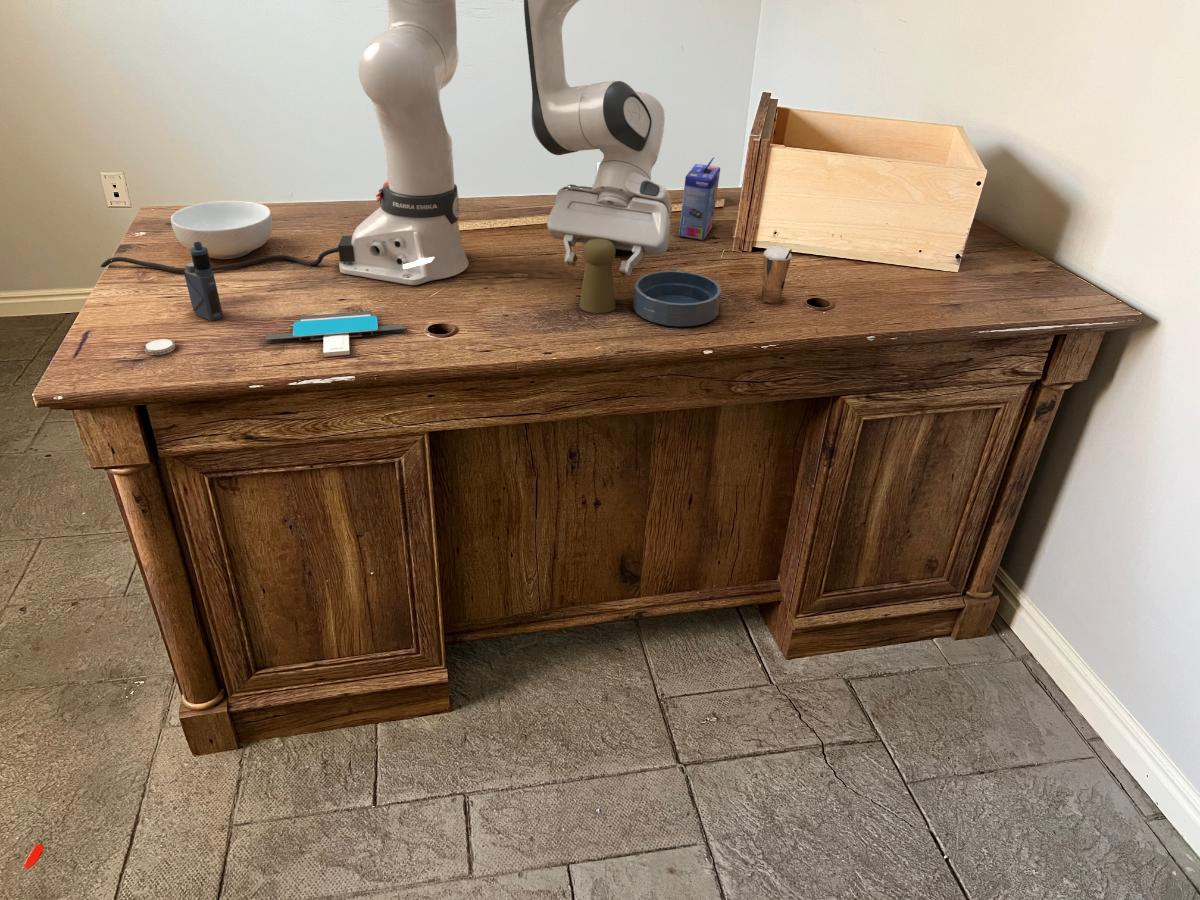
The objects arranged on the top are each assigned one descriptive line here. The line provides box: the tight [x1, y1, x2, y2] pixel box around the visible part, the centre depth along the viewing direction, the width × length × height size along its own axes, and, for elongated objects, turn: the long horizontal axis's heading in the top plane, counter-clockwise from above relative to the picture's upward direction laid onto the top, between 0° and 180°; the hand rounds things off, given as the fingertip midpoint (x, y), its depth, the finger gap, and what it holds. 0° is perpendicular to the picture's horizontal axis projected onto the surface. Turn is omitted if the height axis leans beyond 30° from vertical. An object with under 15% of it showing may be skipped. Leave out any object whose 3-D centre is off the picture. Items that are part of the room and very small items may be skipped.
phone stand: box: [265, 310, 405, 358], centre depth 128 cm, size 20×12×2 cm, turn 105°
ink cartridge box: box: [678, 157, 721, 241], centre depth 169 cm, size 10×6×14 cm, turn 163°
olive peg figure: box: [579, 239, 616, 314], centre depth 139 cm, size 6×6×11 cm
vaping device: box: [184, 242, 224, 322], centre depth 130 cm, size 3×5×12 cm, turn 58°
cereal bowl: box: [170, 200, 273, 260], centre depth 154 cm, size 17×17×7 cm
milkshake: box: [761, 245, 793, 304], centre depth 143 cm, size 5×5×10 cm
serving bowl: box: [632, 270, 722, 328], centre depth 140 cm, size 14×14×4 cm
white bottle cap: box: [143, 338, 176, 356], centre depth 124 cm, size 4×4×1 cm
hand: (596, 269), depth 137 cm, fingers open, 8 cm apart
